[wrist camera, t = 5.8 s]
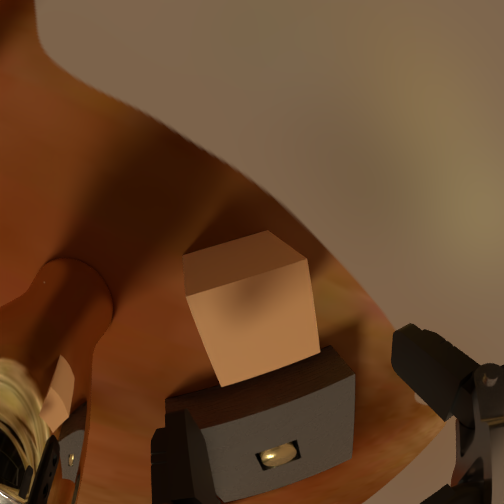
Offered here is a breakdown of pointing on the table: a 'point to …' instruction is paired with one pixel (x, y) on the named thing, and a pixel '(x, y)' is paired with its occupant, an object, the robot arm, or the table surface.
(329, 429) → the plate
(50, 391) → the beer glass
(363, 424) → the table surface
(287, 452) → the pin
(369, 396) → the table surface
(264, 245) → the light brown cube
